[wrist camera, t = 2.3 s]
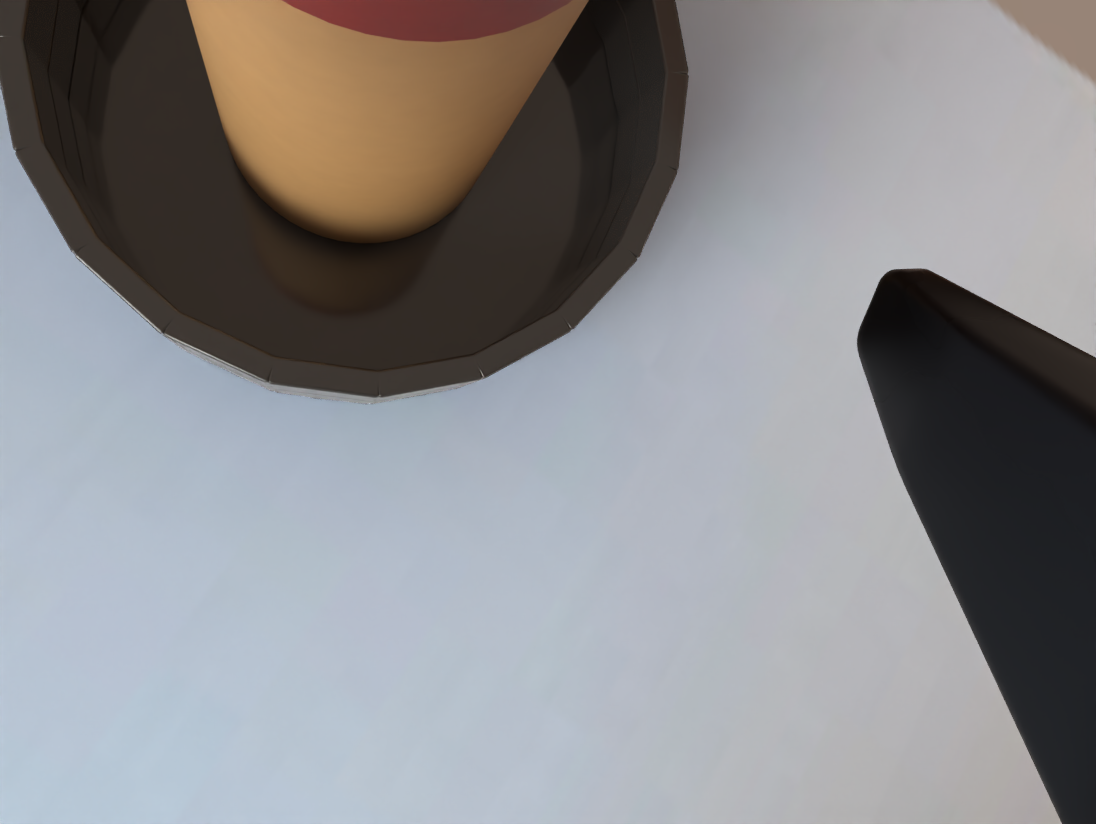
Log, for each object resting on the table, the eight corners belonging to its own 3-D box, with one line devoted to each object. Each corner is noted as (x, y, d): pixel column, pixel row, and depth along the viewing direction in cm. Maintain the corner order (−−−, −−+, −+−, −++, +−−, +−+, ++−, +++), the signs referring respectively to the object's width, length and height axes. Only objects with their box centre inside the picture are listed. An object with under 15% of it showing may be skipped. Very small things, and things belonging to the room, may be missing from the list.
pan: (718, 246, 23) (791, 211, 20) (241, 506, 21) (225, 520, 17) (469, -241, 22) (498, -369, 19) (-69, -32, 19) (-152, -136, 16)
